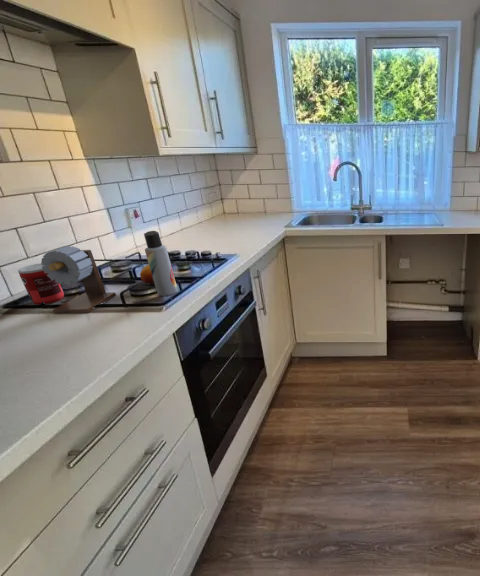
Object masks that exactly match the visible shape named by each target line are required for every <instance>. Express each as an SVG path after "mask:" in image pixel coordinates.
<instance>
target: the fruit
mask: <svg viewBox="0 0 480 576" xmlns="http://www.w3.org/2000/svg"><path fill="white" fill-rule="evenodd" d="M139 277H140V279H141V281H142V282H144V283H145V284H147V283H150V284H153V285H155V283H154V280H153V276H152V273H151V270H150V266H149V263H148V264H147V265H145V266H144V267H142V269H141V270H140V273H139ZM150 284H149V285H150Z"/></svg>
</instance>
